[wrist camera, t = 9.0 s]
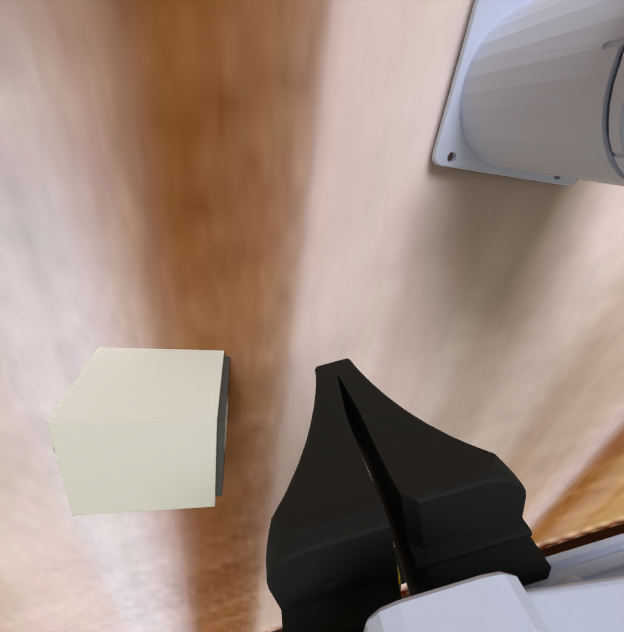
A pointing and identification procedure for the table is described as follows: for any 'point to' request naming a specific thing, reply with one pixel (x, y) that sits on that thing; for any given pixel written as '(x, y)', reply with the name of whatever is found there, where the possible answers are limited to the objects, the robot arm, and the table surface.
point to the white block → (143, 430)
